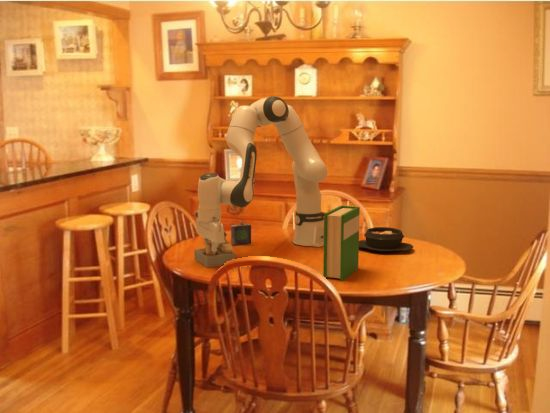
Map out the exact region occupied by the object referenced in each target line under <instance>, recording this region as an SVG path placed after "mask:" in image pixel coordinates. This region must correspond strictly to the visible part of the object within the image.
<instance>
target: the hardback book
mask: <svg viewBox="0 0 550 413" xmlns="http://www.w3.org/2000/svg"><path fill="white" fill-rule="evenodd" d="M360 211H361V208H360V206H350V205H339V206H337V207H334V208H332V209H331V210H329V211H327V212H326V213H325V212H323V213H324V246H323V266H322V267H323V275H322V276H324V277H326V279H328V278H333V279H339V280H340V282H344V281H345V280H346V279H347V278H349V277H350V276H351V275H352V274H354V272H356V271H357V270H358V269H359V249H360V247H359V241H360V215H361V214H360Z"/></svg>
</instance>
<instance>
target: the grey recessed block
mask: <svg viewBox="0 0 550 413" xmlns="http://www.w3.org/2000/svg"><path fill="white" fill-rule="evenodd" d="M193 252H194V260H195V261H196V262H198V263H200V264H201V265H203V266H204V267H206V268H207V269H208V268H216V267H221V265H222V266H224V265H223V264H224V263H226V262H227V261H230V260H232V259H236V253H235V252H231V253H224V252H223V251H221V250H220V249H218V248H217V251H216V252H215V253H216V255H211V256H206V248H205V247H203V248H197V249H194V251H193Z"/></svg>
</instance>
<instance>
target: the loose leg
mask: <svg viewBox="0 0 550 413" xmlns="http://www.w3.org/2000/svg"><path fill="white" fill-rule="evenodd" d="M211 247H212V243H206V256H211V255H216V253H215V252H212V251H211Z"/></svg>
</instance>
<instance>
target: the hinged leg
mask: <svg viewBox="0 0 550 413" xmlns="http://www.w3.org/2000/svg"><path fill="white" fill-rule="evenodd" d="M217 248H218V249H220V250H221V251H223V252H224V253H231V252H233V251H234V250H233V246H232V245H231V243H229V241H228V242H226V241H224V242H223V243H218V245H217ZM233 253H234V252H233Z"/></svg>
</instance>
